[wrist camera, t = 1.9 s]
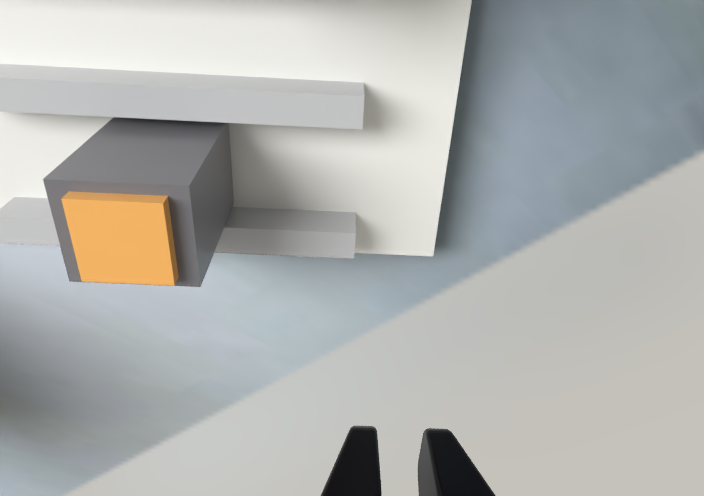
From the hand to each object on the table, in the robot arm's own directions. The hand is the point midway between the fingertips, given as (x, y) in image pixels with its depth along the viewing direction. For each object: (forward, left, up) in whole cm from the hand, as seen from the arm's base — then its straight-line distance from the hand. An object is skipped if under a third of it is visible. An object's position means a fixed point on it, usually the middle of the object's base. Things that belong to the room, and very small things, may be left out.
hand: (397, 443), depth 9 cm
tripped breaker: (-7, 0, -11) cm, 13 cm away
